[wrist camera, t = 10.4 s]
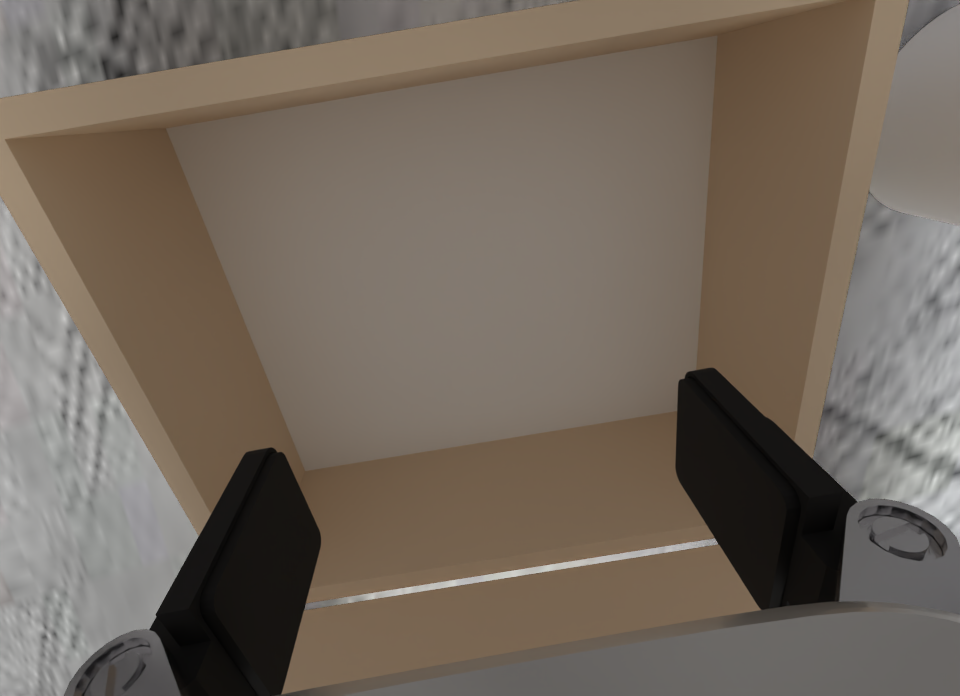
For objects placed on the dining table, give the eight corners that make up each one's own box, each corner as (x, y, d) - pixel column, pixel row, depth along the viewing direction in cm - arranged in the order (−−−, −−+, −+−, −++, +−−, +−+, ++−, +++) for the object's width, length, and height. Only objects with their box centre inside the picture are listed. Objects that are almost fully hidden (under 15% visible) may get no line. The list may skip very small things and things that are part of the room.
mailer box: (729, 9, 18) (921, -58, 11) (700, 409, 26) (798, 524, 19) (146, 107, 18) (-52, 107, 11) (299, 474, 26) (243, 613, 19)
